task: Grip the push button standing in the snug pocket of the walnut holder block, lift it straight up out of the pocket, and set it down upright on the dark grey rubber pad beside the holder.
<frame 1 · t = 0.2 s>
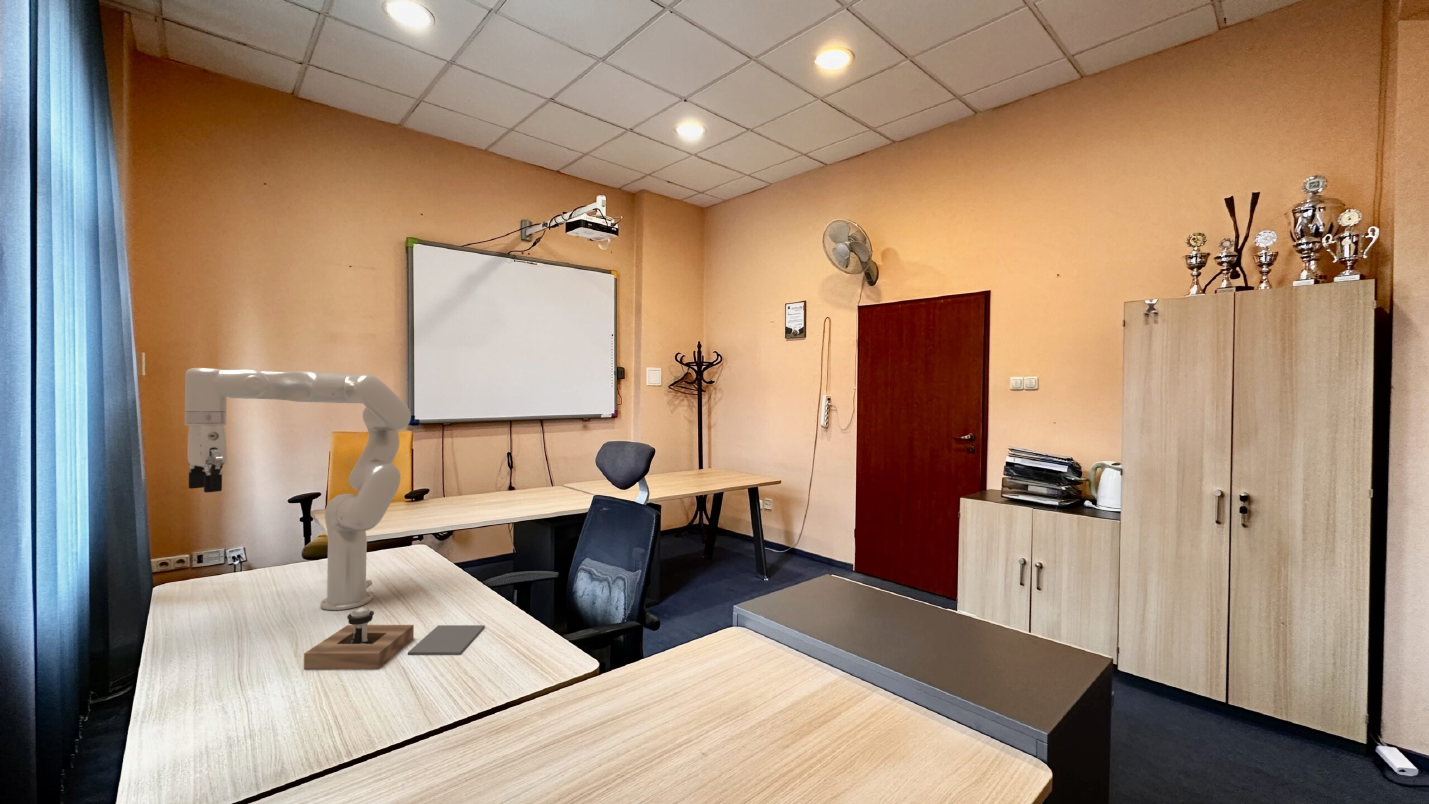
hand: (205, 489, 138), 37 cm above the table, tool pointing down, fingers open, 9 cm apart
holder: (362, 653, 134), on the table
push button: (362, 654, 134), resting in holder
pad: (448, 640, 142), on the table
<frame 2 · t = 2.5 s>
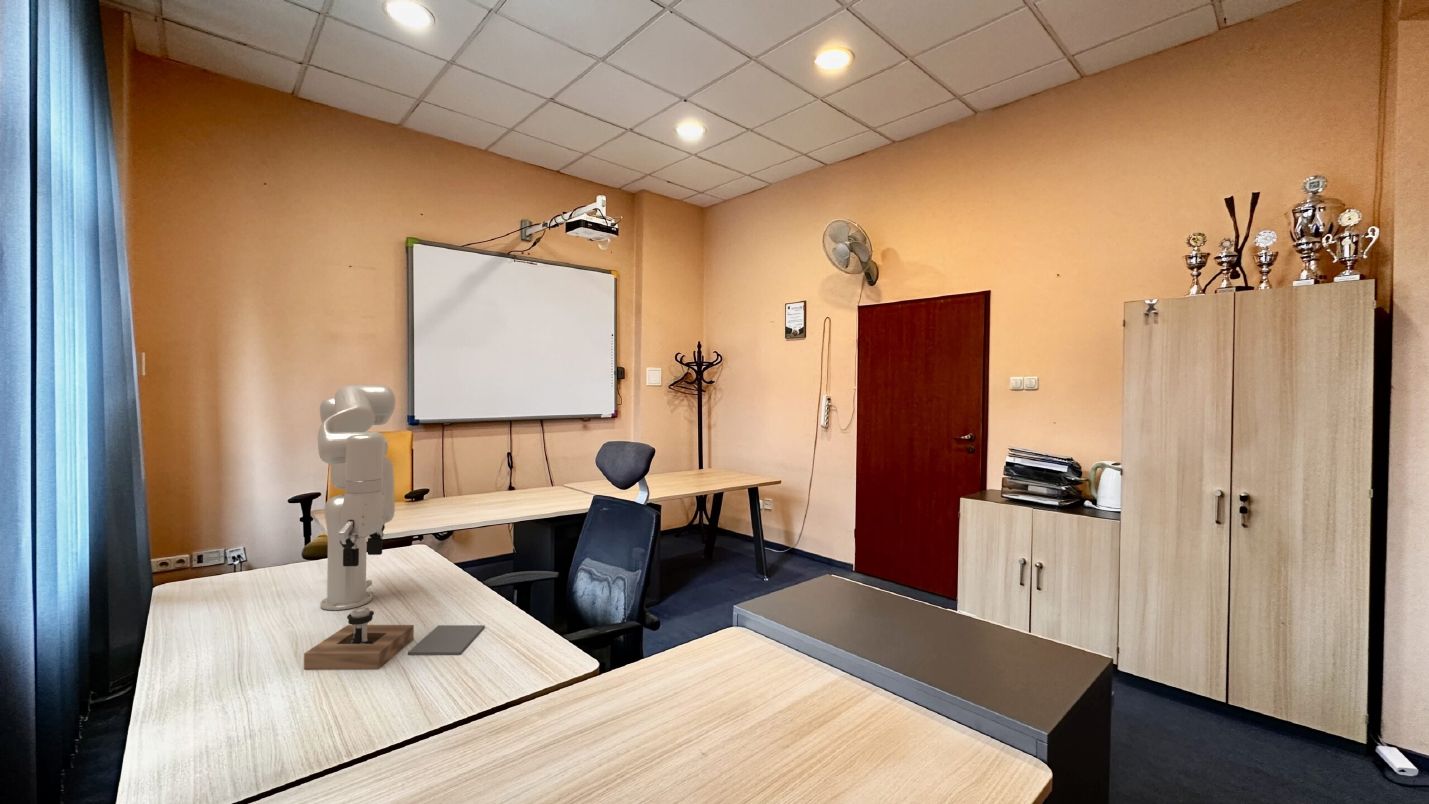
hand: (363, 560, 134), 22 cm above the table, tool pointing down, fingers open, 9 cm apart
nothing on the table moved.
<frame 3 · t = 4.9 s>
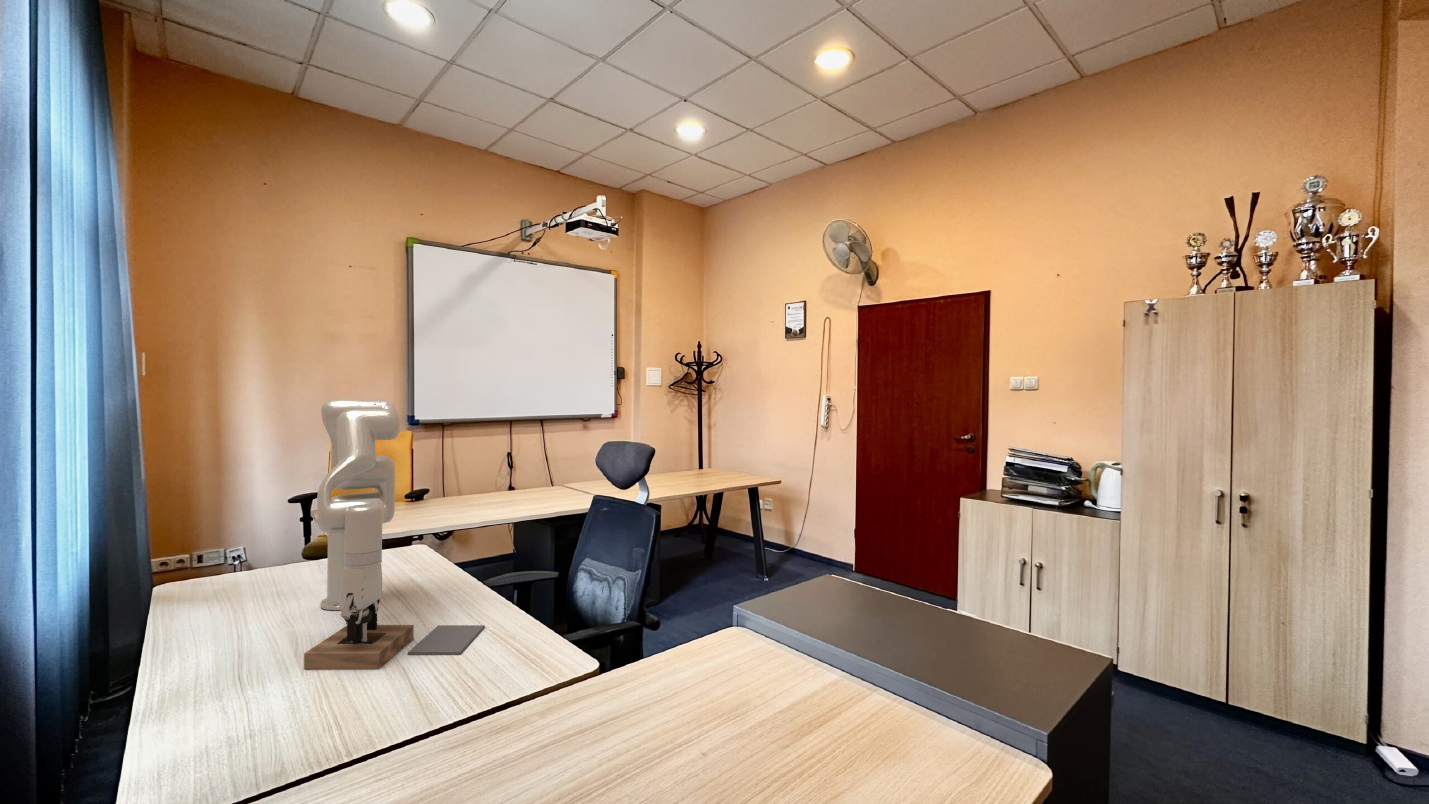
hand: (362, 634, 134), 4 cm above the table, tool pointing down, fingers closed on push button, 5 cm apart
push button: (362, 653, 134), resting in holder, touching gripper
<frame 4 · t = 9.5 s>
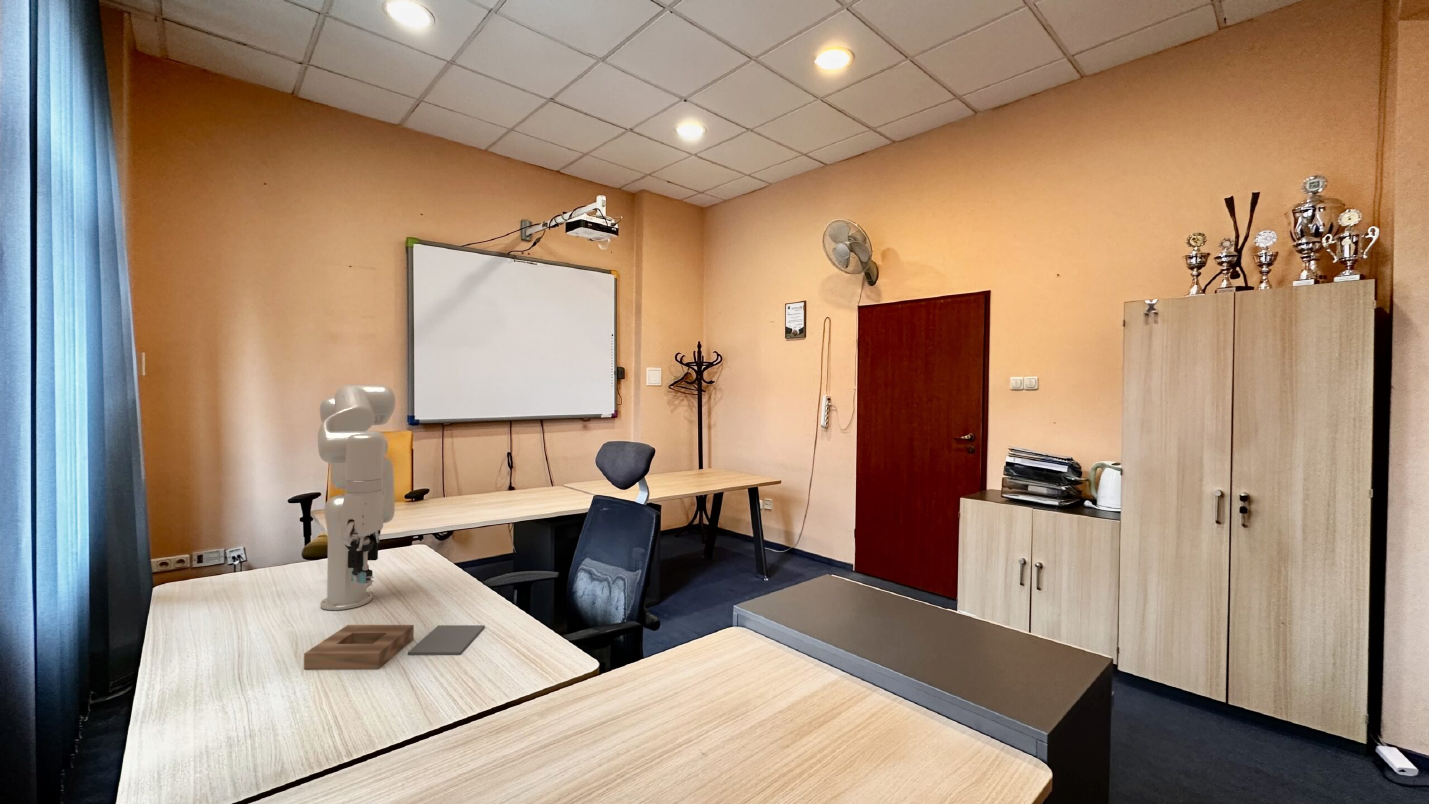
hand: (363, 562, 134), 21 cm above the table, tool pointing down, fingers closed on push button, 5 cm apart
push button: (362, 582, 134), point 16 cm above the table, touching gripper
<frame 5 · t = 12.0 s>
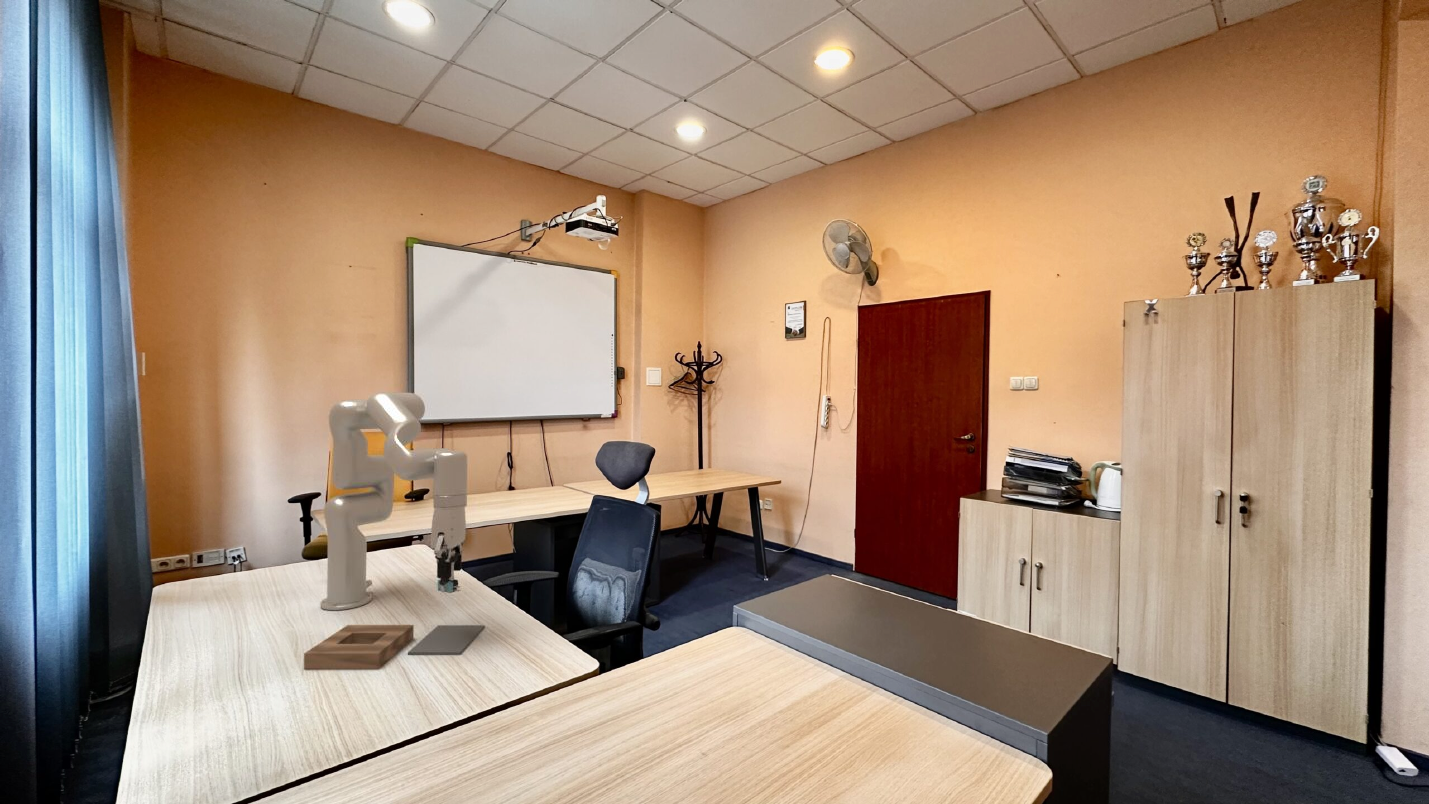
hand: (449, 573, 142), 17 cm above the table, tool pointing down, fingers closed on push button, 5 cm apart
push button: (449, 592, 142), point 12 cm above the table, touching gripper
when the fingers open (6 cm above the table, at t = 14.2 s): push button stays where it is, resting on pad.
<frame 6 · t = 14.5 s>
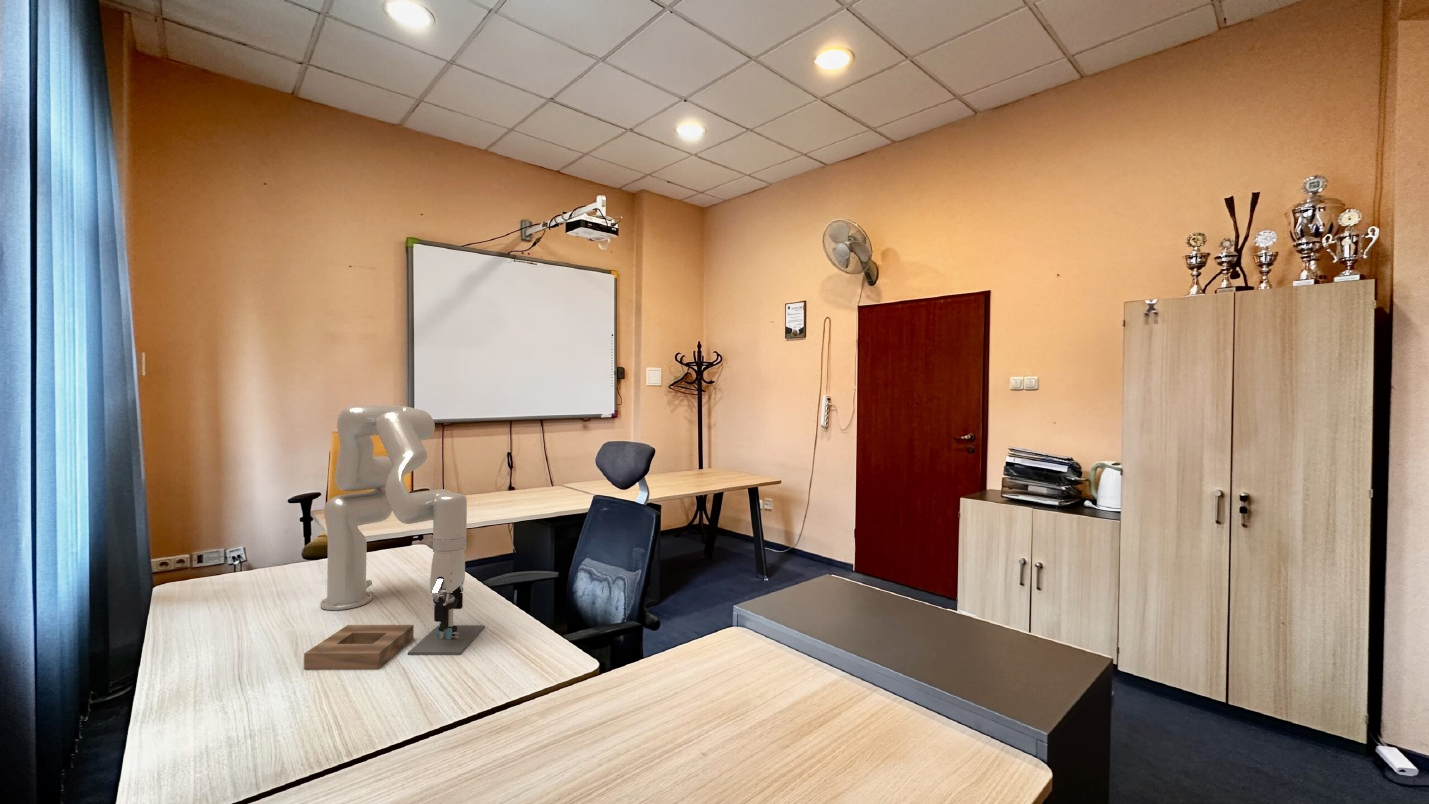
hand: (448, 614, 142), 6 cm above the table, tool pointing down, fingers open, 7 cm apart
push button: (448, 638, 142), resting on pad
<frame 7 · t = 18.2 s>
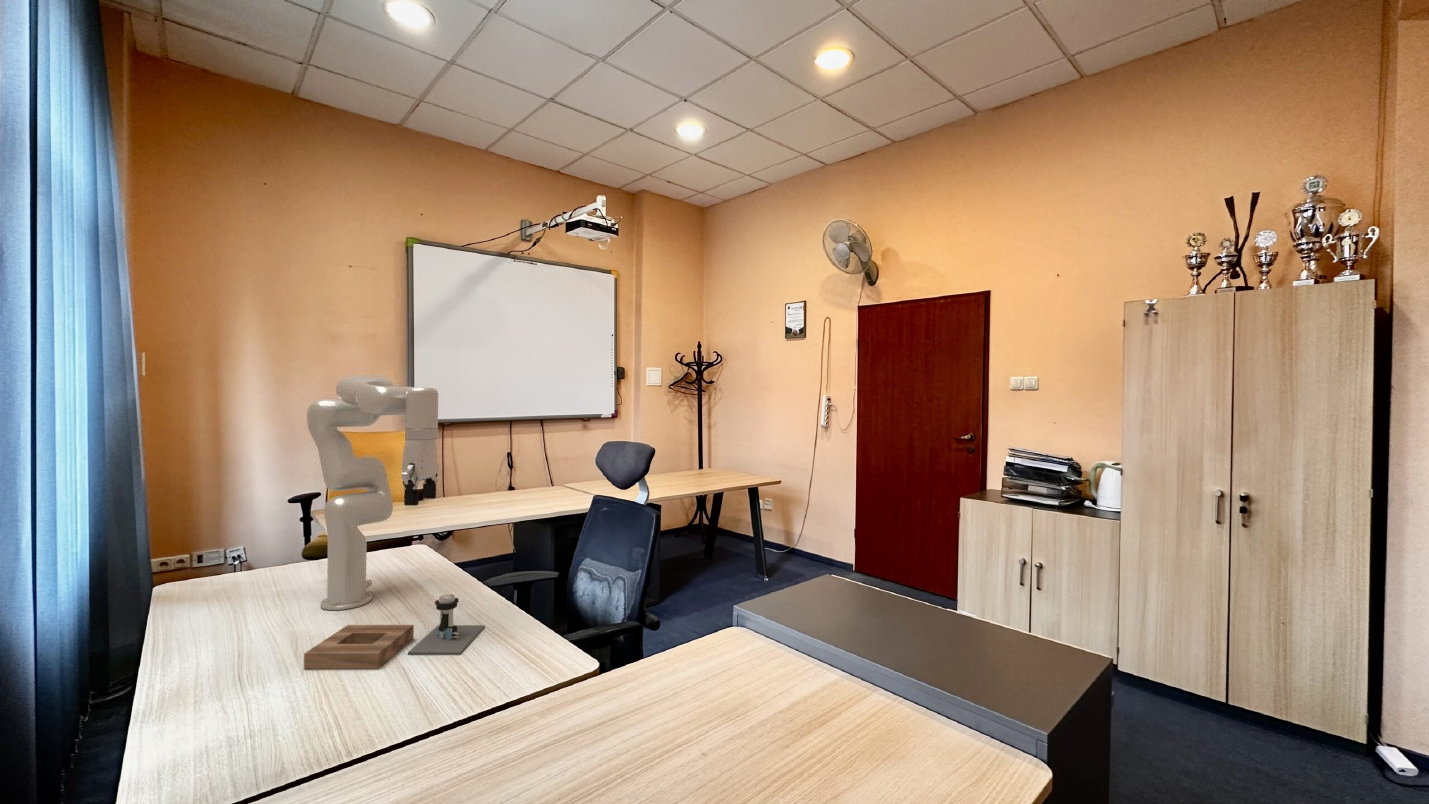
hand: (420, 501, 147), 33 cm above the table, tool pointing down, fingers open, 9 cm apart
nothing on the table moved.
at the end: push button inside the target area on the pad (0.4 cm from its centre), point 0.4 cm above the pad's base; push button tilted 0°; the gripper is holding nothing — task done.
